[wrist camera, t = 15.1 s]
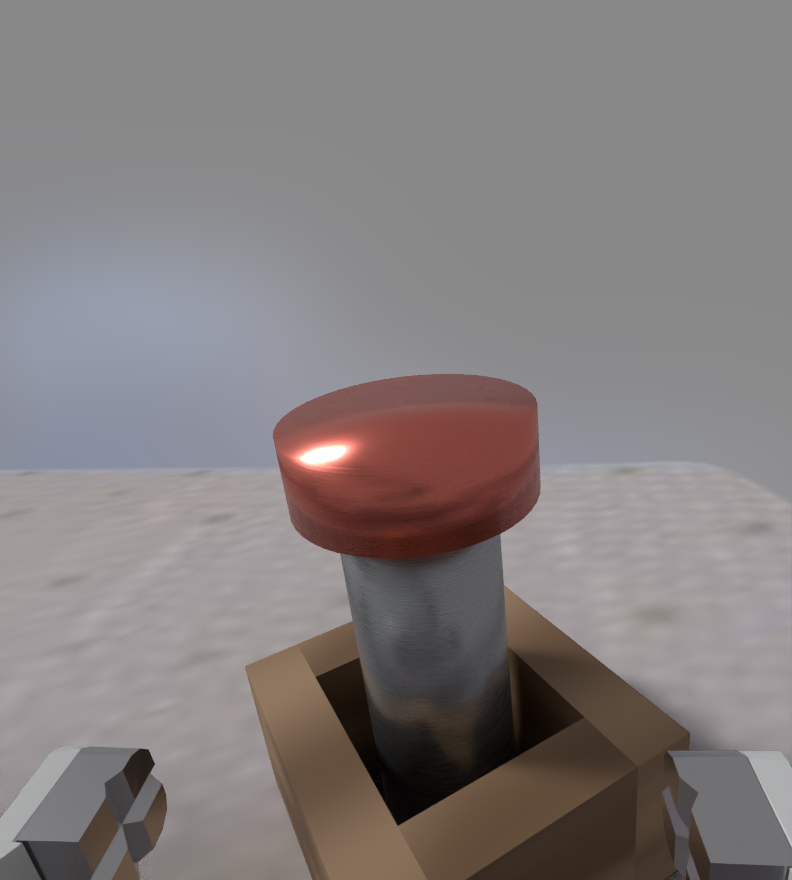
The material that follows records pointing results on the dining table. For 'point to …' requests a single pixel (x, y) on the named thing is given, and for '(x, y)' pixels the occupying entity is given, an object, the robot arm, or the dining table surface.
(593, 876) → the socket block
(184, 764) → the dining table surface
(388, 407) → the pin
